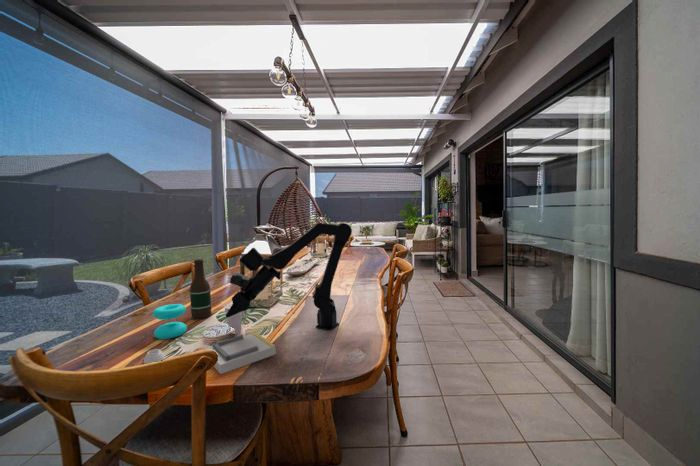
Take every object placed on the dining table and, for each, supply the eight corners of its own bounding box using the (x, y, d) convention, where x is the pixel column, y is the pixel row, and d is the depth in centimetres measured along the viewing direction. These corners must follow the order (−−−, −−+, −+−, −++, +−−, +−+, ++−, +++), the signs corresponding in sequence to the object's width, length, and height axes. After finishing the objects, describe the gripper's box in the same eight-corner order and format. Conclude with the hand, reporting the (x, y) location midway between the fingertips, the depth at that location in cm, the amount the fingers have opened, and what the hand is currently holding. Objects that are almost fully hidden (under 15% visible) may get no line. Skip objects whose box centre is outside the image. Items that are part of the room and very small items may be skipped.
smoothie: (238, 336, 102) (236, 297, 102) (221, 335, 104) (219, 296, 103) (248, 329, 109) (246, 292, 108) (232, 328, 110) (230, 291, 109)
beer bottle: (215, 315, 125) (212, 259, 124) (197, 321, 119) (194, 261, 117) (204, 312, 129) (202, 257, 128) (187, 317, 123) (183, 260, 121)
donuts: (153, 305, 107) (185, 301, 112) (155, 332, 107) (186, 327, 113) (151, 313, 98) (186, 308, 103) (153, 342, 99) (187, 336, 104)
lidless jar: (167, 356, 89) (150, 357, 89) (167, 347, 89) (150, 347, 89) (158, 365, 84) (139, 365, 84) (157, 355, 84) (139, 355, 84)
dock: (256, 340, 99) (255, 329, 99) (275, 354, 89) (275, 343, 89) (205, 355, 89) (204, 344, 89) (220, 374, 78) (219, 361, 78)
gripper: (249, 260, 114) (220, 290, 114) (237, 269, 96) (203, 305, 95) (270, 280, 116) (242, 309, 115) (263, 292, 97) (229, 327, 97)
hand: (230, 312), depth 106 cm, fingers open, 9 cm apart
